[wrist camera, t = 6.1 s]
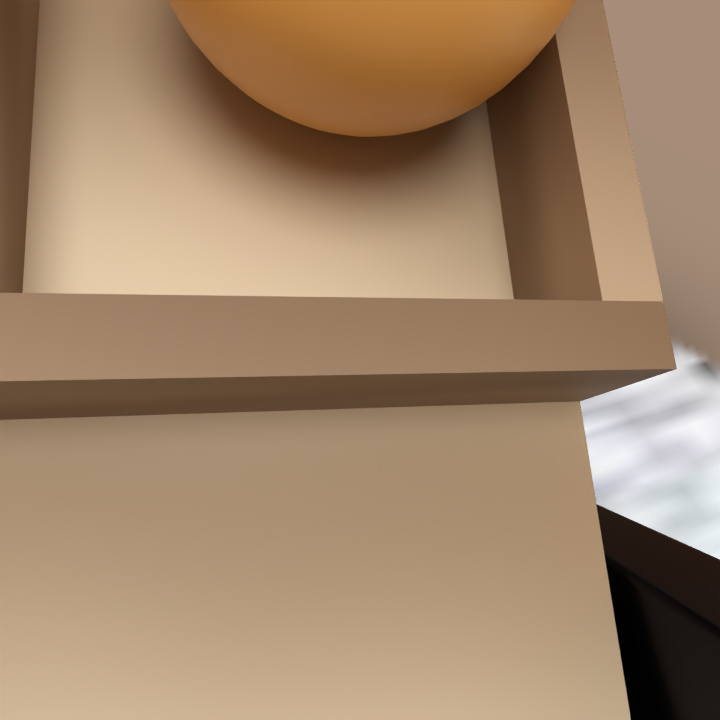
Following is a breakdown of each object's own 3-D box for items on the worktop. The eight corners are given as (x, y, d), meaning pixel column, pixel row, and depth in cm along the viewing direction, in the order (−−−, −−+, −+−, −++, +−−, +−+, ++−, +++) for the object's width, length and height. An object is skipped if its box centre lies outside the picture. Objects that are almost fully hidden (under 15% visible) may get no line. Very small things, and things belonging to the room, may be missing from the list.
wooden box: (360, 693, 13) (843, 1198, 3) (109, 731, 12) (-332, 1711, 2) (332, 280, 16) (568, -168, 6) (118, 275, 14) (-73, -309, 4)
